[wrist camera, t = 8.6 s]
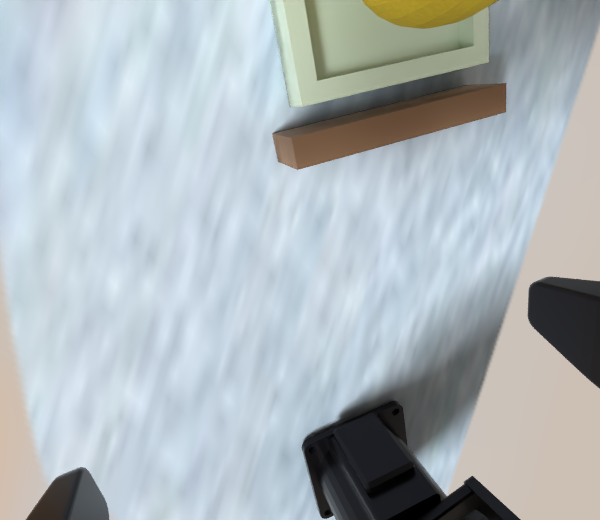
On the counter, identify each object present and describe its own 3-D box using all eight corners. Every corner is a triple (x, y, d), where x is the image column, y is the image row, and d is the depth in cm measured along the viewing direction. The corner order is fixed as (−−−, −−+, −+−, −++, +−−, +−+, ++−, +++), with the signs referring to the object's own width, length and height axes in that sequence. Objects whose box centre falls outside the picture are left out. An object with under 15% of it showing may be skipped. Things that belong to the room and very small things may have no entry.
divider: (466, 110, 21) (505, 111, 19) (278, 161, 18) (297, 169, 16) (466, 85, 20) (506, 83, 18) (272, 133, 18) (291, 138, 16)
